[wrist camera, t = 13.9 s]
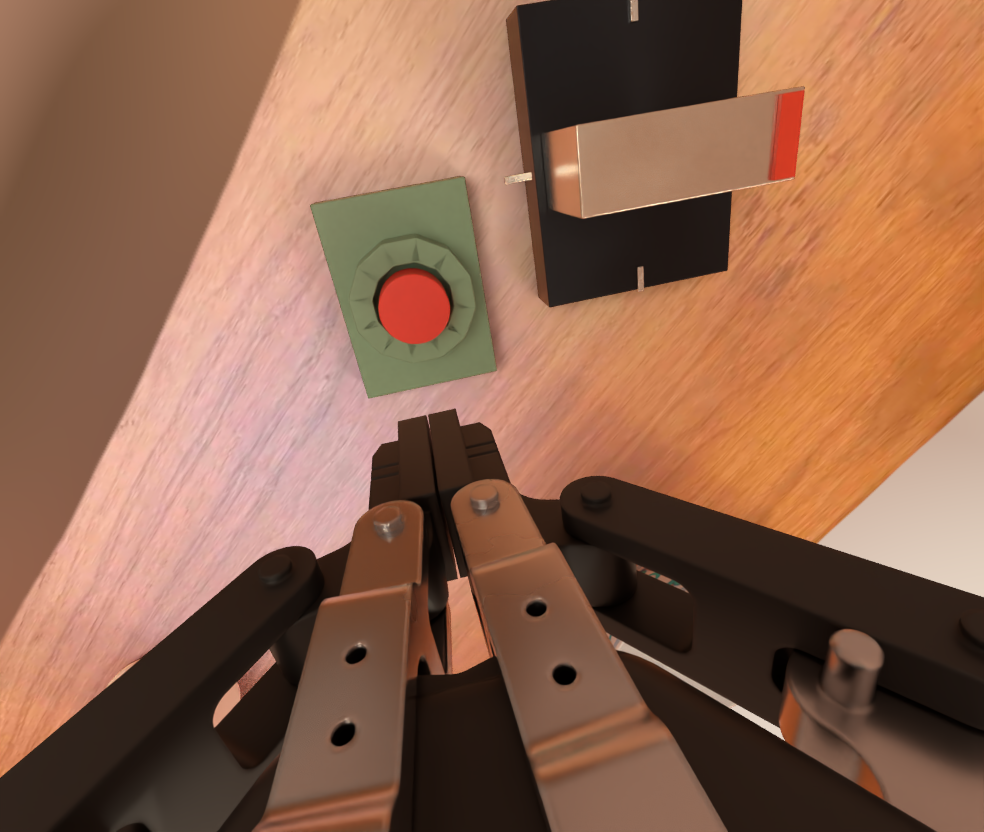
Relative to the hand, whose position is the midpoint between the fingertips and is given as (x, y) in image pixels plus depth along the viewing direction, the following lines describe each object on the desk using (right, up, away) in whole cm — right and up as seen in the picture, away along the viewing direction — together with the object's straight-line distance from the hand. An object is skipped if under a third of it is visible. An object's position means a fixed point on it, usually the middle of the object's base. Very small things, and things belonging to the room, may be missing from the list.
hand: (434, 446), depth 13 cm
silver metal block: (+9, +14, +13) cm, 22 cm away
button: (-3, +7, +14) cm, 16 cm away
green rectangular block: (-3, +8, +17) cm, 19 cm away
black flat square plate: (+9, +15, +16) cm, 24 cm away
